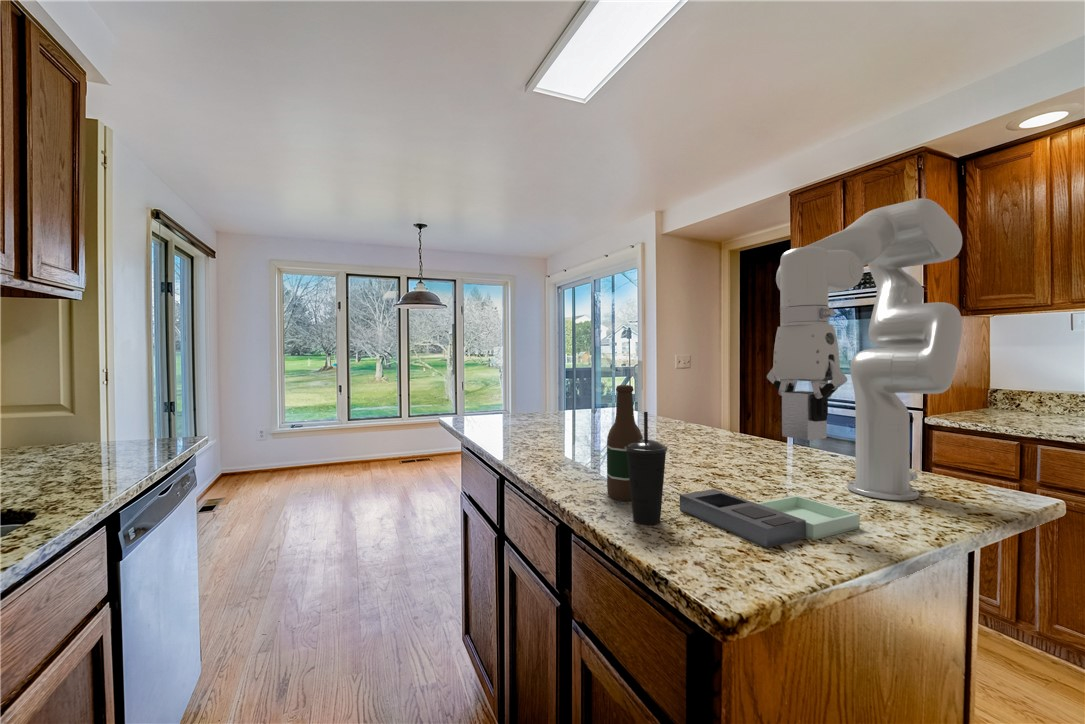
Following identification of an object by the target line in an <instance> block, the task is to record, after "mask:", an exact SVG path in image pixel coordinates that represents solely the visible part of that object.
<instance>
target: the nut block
mask: <svg viewBox="0 0 1085 724" xmlns="http://www.w3.org/2000/svg"><path fill="white" fill-rule="evenodd" d="M812 398H815V395H814V392H813V390H812V391H810V390H795V391H791V392H782V396H781V435H782V436H781V437H785V438H792V439H797V440H803V441H814V440H820V439H821V440H822V439H823V440H824V439H827V437H828V436H827V435H828V434H827V433H828V432H827V429H828V428H827V425H828V423H827V420H828V419H827V420H826V421H818V422H815V421H812Z"/></svg>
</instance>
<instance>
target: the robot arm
mask: <svg viewBox="0 0 1085 724" xmlns="http://www.w3.org/2000/svg"><path fill="white" fill-rule="evenodd" d="M962 246H963V235H962V232H961V229H960V228H959V226H958V224H957V223H956V222H955V221H954V219H953V218H951V216H950V215H949V214H948V212H947V210H945V209H944V208H943V207H942V206H941V205H940V204H939V203H937V202H936V201H934V200H932V199H929V198H915V199H910V200H907V201H902V202H898V203H895V204H890V205H885V206H882V207H878V208H875V209H872V210H869V211H867V212H866V213H864V214H863V215H861V216H860V217H859V218H857V219H855V221H854V222H853V223H851V224H849V225H848V226H847V227H845V228H844V229H843V230H840V231H838V232H837V231H836V232H835V233H832V234H831V235H828V236H827V237H824V238H822V239H820V240H818V241H814V242H813V243H810V244H808V245H805V246H801V247H797V248H790V249H789V250H786V251H785V252H783V253H782V255H781V256H780V263H779V266H778V269H777V271H776V275H775V276H776V277H775V282H776V285H777V288H778V290H779V291H780V292H779V293H780V299H779V301H780V302H779V303H780V304H779V305H780V306H779V313H780V315H779V316H780V318H779V319H780V320H779V321H780V326H777V330H776V334H775V340H774V341H775V342H774V345H773V346H774V347H773V348H774V349H773V360H772V362H773V363H772V364H773V366H772V368H771V369H770V371H769V372H768V373H767V375H766V379H767V380H768V381H769V382H770V383H772V385H773V386H774V388H775V389H776V390H777V391H778V395H779V396H781V397H782V392H791V391H796V388H797V383H798V382H799V381H802V382H810V384H811V388H812V392H814V395H815V398H812V421H815V422H818V421H826V420H828V415H829V413H828V412H829V401H828V400H829V399H831V398H832V395H833V393H836V391H837V390H838V389H839V388H841V386H843V385H844V384H845V383H847V382H848V377H847V376H846V374H844V372H843V371H842V370H841V365H840V363H841V362H840V351H839V350H840V349H839V344H838V338H837V334H836V333H837V332H836V329H835V326H834V324H833V323H831V324H830V323H829V321H830V317H834V316H835V309H834V308H830V306H829V294H830V293H836V292H837V293H838V292H843V291H847V290H850V289H852V288H854V287H856V286H857V285H859V283H860V282H861V280H862V278H863V276H864V271H865V269H864V266H866V265H867V266H868V268H869V269H868V270H869V272H870V274H871V277H872V278H873V281H874V284H875V287H876V296H875V301H874V305H873V309H872V313H871V316H870V317H871V318H870V320H869V325H868V333H867V335H868V339H869V341H870V342H871V343H872V345H874V346H876V347H877V348H876V347H874V348H872V347H871V348H866V349H863V350H861V351H858V352H857V353H855V354H854V356H853V357H852V359H851V360H850V364H849V371H850V376H851V377H850V378H851V382H852V387H853V394H854V403H855V479H853V480H850V481H847V485H846V486H847V489H848V490H849V491H851V492H853V493H855V494H857V495H858V494H859V495H861V496H865V497H869V498H875V499H880V500H881V499H882V500H886V501H887V500H889V501H914V500H917V499H919V498H920V492H919V490H917V489H916V488H913V487H912V486H911V487H910V482H911V481H912V482H913V481H916V480H918V478H919V477H918V475H917V473H916V472H915V471H911V470H910V468H911V467H910V460H911V459H910V457H911V456H910V453H911V452H910V449H911V448H910V447H911V446H910V435H911V434H910V430H911V429H910V427H911V426H910V425H911V424H910V423H911V422H910V419H911V417H910V413H909V410H908V407H907V406H906V405H905V403H904V402H903V401H902V400H901V399H900V397H899V396H898V395H897V393H898V394H900V393H904V394H922V395H924V394H925V395H937V394H942V393H945V392H946V391H948V390H949V389H950V387H951V385H952V383H953V380H954V377H955V372H956V367H957V361H958V356H959V351H960V345H961V340H962V334H963V319H962V315H961V312H960V311H959V309H958V308H957V306H955V305H953V304H952V303H949V302H943V301H942V302H938V301H936V302H925V303H924V302H923V298H924V292H925V289H924V287H923V286H922V285H921V283H920V282H919V280H917V278H915V277H913V276H912V275H911V274H909V273H907V272H906V271H905V270H904V269H903V268H908V267H916V266H923V265H930V264H939V263H944V262H948V261H951V260H952V259H954V258H956V257H957V255H959V253H960V251H961V250H962ZM829 381H830V382H829Z"/></svg>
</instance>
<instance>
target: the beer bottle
mask: <svg viewBox="0 0 1085 724" xmlns="http://www.w3.org/2000/svg"><path fill="white" fill-rule="evenodd" d="M615 391H616V407H615V418H614V423H613V424H612V426H611V427H610V429H609V431H608V434H607V441H606V486H607V487H606V489H607V491H606V492H607V495H608V497H610V498H611V499H612V500H615V501H620V502H632V501H631V491H630V481H629V471H628V460H627V450H625V445H627V444H630V443H632V442H634V441H637V440H643V439H644V436H643V434H642V432H641V429H640V428H639V426H638V425H637V424H636V420H635V416H634V415H635V413H634V397H633V392H634V387H633V385H631V384H620V385H617V386H616V389H615Z"/></svg>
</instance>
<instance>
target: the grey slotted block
mask: <svg viewBox="0 0 1085 724" xmlns="http://www.w3.org/2000/svg"><path fill="white" fill-rule="evenodd" d="M757 503H758V502H755V501H750V500H747V499H744V498H742V497H739V496H736V495H733V494H730V493H728V492H724V491H721V490H718V489H716V488H712V489H706V490H701V491H694V492H687V493H682V494H679V511H682V512H684V513H686V514H688V515H691V516H692V517H694V518H697V519H700V520H702V521H704V522H706V523H709V524H711V525H713V526H715V527H718V528H720V529H723V530H725V531H727V532H730V533H732V534H734V535H736V536H739V537H741V538H743V539H745V540H748V541H749V542H752V543H754V544H757V545H759V546H762V547H763V548H765V549H768V548H773V547H778V546H780V545H784V544H785V545H786V544H788V543H793V542H797V541H801V540H805V539H806V538H807V537H806V520H804V519H801V518H798V517H795V516H792V515H789V514H786V513H783V512H780V511H777V510H774V509H771V508H768V507H766V506H763V505H760V504H757Z"/></svg>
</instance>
